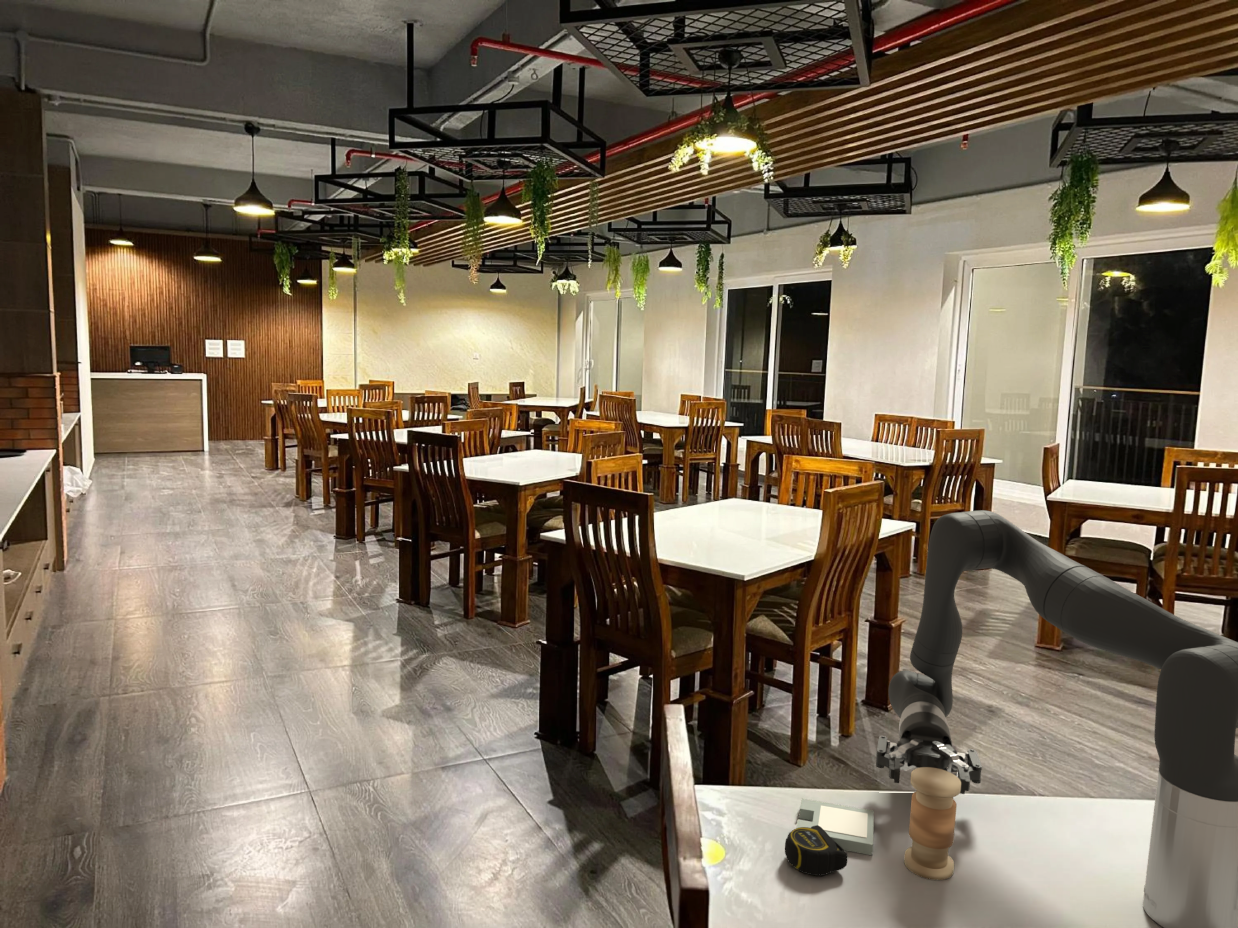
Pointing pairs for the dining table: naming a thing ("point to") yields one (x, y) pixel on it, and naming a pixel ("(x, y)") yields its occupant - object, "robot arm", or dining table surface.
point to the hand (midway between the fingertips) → (929, 781)
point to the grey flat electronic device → (840, 824)
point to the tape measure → (814, 851)
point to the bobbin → (932, 823)
